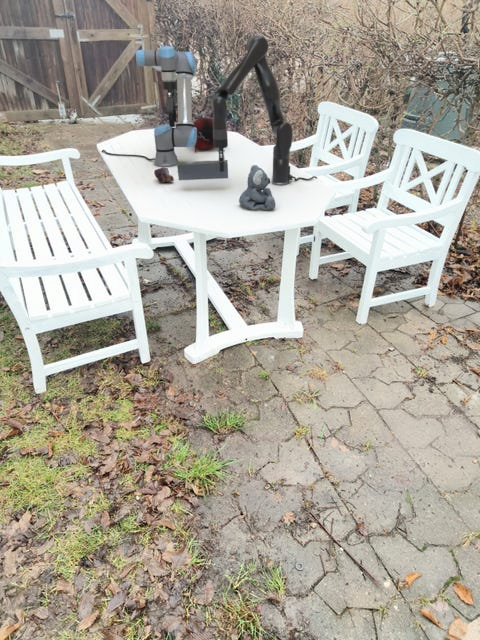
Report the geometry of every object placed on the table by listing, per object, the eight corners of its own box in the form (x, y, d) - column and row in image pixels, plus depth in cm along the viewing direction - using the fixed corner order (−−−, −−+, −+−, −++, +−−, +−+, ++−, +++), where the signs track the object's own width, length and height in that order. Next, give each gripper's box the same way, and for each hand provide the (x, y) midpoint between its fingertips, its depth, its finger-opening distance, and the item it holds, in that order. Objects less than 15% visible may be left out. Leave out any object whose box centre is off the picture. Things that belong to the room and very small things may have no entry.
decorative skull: (188, 123, 330) (185, 120, 306) (219, 116, 329) (218, 112, 306) (194, 153, 337) (192, 152, 313) (225, 146, 336) (225, 145, 313)
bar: (178, 180, 246) (177, 164, 241) (179, 177, 250) (177, 162, 245) (228, 178, 246) (227, 162, 241) (228, 175, 250) (227, 160, 245)
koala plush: (276, 211, 223) (277, 171, 212) (240, 212, 222) (240, 172, 211) (271, 199, 237) (272, 161, 226) (237, 200, 236) (237, 162, 225)
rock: (168, 180, 269) (152, 182, 265) (166, 165, 265) (150, 167, 261) (175, 182, 260) (159, 184, 256) (174, 166, 256) (157, 168, 252)
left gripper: (174, 83, 226) (178, 128, 238) (178, 77, 246) (181, 119, 258) (159, 84, 226) (164, 129, 238) (164, 78, 246) (168, 119, 258)
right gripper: (227, 140, 230) (229, 173, 240) (227, 134, 242) (228, 166, 252) (213, 141, 230) (215, 174, 240) (213, 134, 242) (215, 166, 252)
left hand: (173, 124), depth 248 cm, fingers open, 13 cm apart
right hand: (222, 170), depth 246 cm, fingers closed on bar, 4 cm apart
